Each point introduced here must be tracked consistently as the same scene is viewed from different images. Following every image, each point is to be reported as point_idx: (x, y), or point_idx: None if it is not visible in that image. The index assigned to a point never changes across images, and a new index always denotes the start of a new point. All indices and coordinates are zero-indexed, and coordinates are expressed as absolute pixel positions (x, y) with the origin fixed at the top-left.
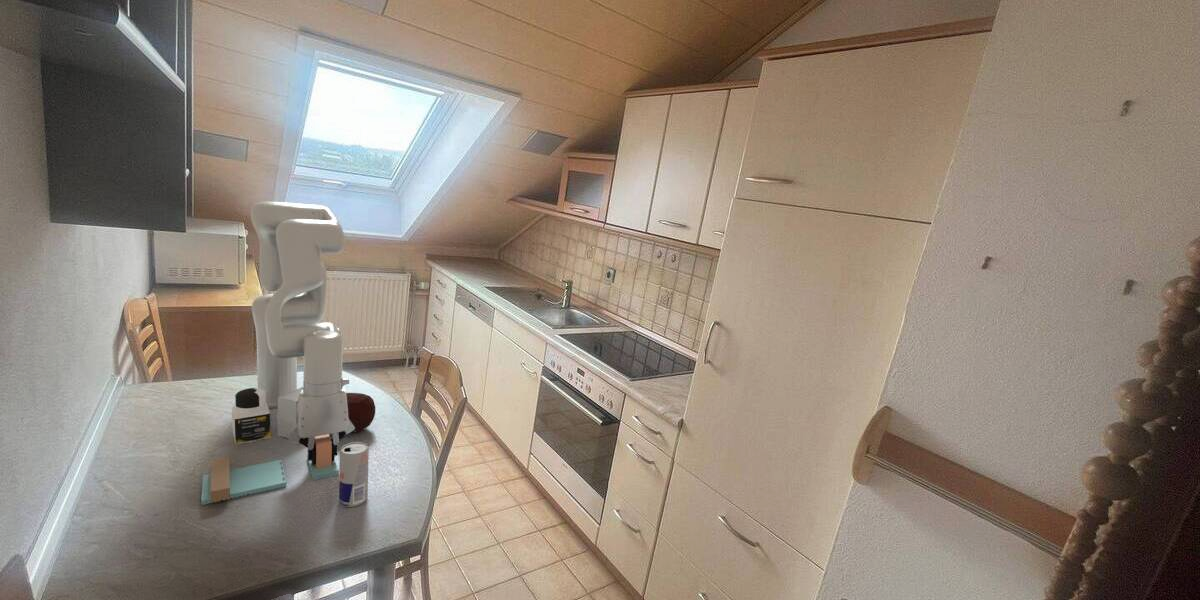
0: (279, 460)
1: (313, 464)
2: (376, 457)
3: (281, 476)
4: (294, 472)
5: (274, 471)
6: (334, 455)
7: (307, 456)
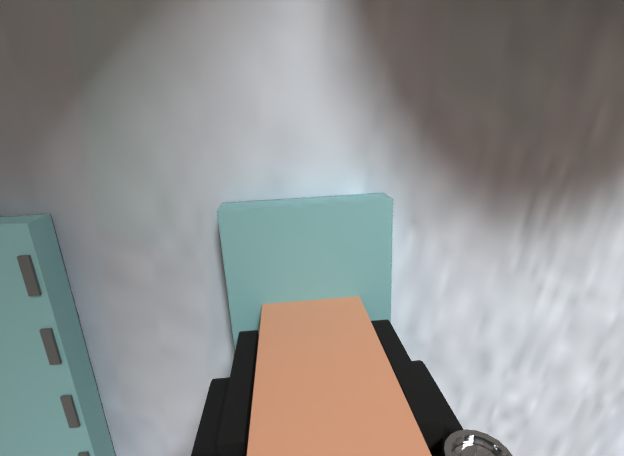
0: (11, 228)
1: None
2: (610, 332)
3: (69, 438)
4: (150, 349)
5: (10, 372)
6: None
7: (219, 226)
